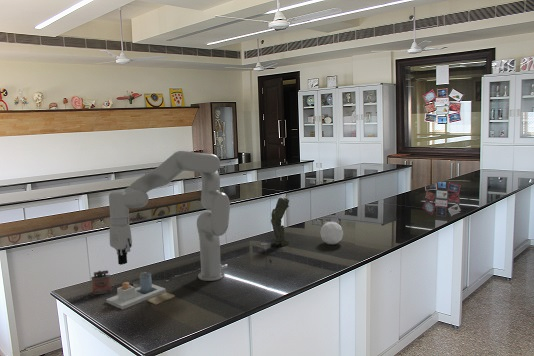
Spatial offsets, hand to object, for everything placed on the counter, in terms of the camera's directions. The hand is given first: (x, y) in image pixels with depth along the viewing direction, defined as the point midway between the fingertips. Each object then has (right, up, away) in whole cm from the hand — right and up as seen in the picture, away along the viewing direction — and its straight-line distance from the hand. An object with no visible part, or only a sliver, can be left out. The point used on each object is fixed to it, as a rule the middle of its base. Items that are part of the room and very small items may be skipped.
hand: (122, 263), depth 190 cm
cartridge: (+7, -15, +10) cm, 20 cm away
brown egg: (+1, -13, +2) cm, 13 cm away
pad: (+15, -16, +4) cm, 22 cm away
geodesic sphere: (+99, -3, +75) cm, 124 cm away
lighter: (-14, -16, +13) cm, 25 cm away
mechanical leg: (+69, -3, +76) cm, 103 cm away
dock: (+4, -16, +7) cm, 18 cm away
